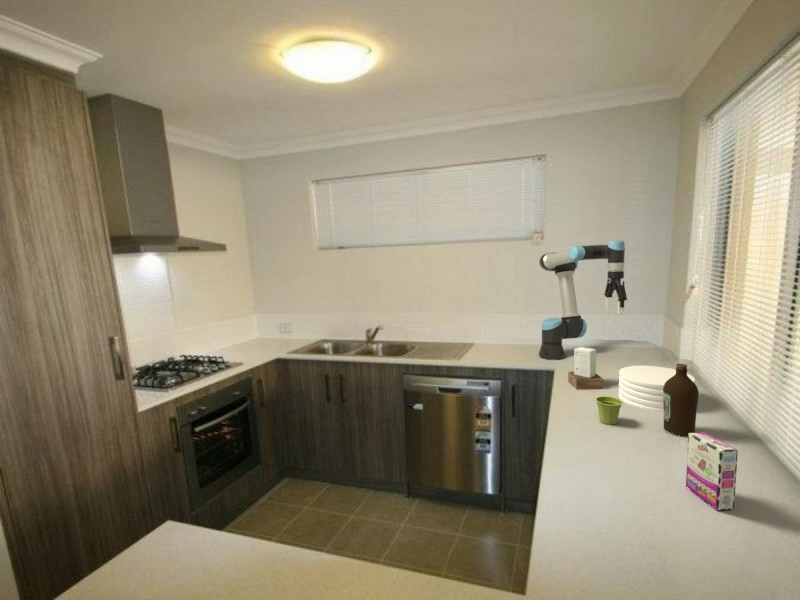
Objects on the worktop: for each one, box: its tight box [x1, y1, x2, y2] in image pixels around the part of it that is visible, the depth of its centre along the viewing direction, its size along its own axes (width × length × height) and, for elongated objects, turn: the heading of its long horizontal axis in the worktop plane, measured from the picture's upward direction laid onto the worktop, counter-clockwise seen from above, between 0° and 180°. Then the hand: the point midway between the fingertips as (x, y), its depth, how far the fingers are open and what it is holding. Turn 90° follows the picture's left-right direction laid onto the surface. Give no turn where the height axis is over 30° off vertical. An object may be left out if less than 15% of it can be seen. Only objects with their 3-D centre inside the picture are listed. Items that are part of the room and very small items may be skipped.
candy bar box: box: [685, 431, 739, 511], centre depth 112 cm, size 11×5×16 cm, turn 5°
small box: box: [573, 346, 597, 378], centre depth 203 cm, size 8×6×13 cm
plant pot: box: [595, 395, 624, 425], centre depth 162 cm, size 9×9×9 cm
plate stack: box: [618, 365, 696, 412], centre depth 182 cm, size 28×28×12 cm
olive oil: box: [663, 363, 700, 437], centre depth 151 cm, size 11×11×25 cm
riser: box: [567, 371, 604, 390], centre depth 204 cm, size 12×12×5 cm
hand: (614, 311), depth 218 cm, fingers open, 13 cm apart
